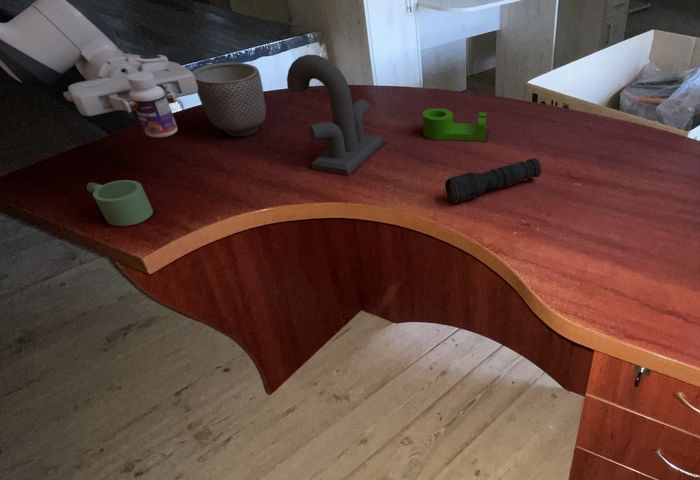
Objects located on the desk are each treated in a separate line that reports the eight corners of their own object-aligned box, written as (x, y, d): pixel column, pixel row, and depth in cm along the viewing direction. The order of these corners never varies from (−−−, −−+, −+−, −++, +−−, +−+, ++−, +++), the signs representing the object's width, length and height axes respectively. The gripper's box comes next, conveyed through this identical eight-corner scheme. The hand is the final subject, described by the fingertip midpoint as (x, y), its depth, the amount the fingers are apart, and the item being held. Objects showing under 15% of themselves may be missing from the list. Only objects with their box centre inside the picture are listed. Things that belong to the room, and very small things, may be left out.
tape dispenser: (421, 138, 128) (420, 119, 125) (425, 126, 133) (424, 107, 130) (484, 141, 128) (485, 122, 125) (485, 129, 133) (486, 110, 130)
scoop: (162, 211, 100) (151, 185, 96) (126, 230, 95) (113, 204, 91) (116, 195, 103) (104, 170, 100) (79, 213, 98) (65, 187, 95)
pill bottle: (138, 135, 97) (114, 78, 90) (159, 124, 101) (137, 68, 94) (165, 140, 96) (142, 82, 89) (184, 128, 100) (164, 72, 93)
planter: (216, 120, 130) (197, 62, 121) (276, 118, 133) (262, 61, 124) (205, 144, 121) (184, 83, 112) (270, 141, 123) (254, 82, 114)
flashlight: (444, 197, 108) (443, 173, 105) (527, 174, 117) (529, 152, 114) (457, 208, 105) (456, 184, 102) (541, 183, 114) (543, 161, 111)
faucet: (323, 131, 128) (305, 38, 114) (383, 142, 125) (373, 48, 112) (280, 163, 115) (255, 63, 102) (347, 176, 113) (330, 74, 99)
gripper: (50, 74, 93) (76, 97, 86) (172, 53, 104) (203, 72, 97) (69, 110, 97) (95, 135, 91) (183, 87, 108) (214, 107, 102)
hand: (152, 102), depth 94 cm, fingers closed on pill bottle, 5 cm apart
